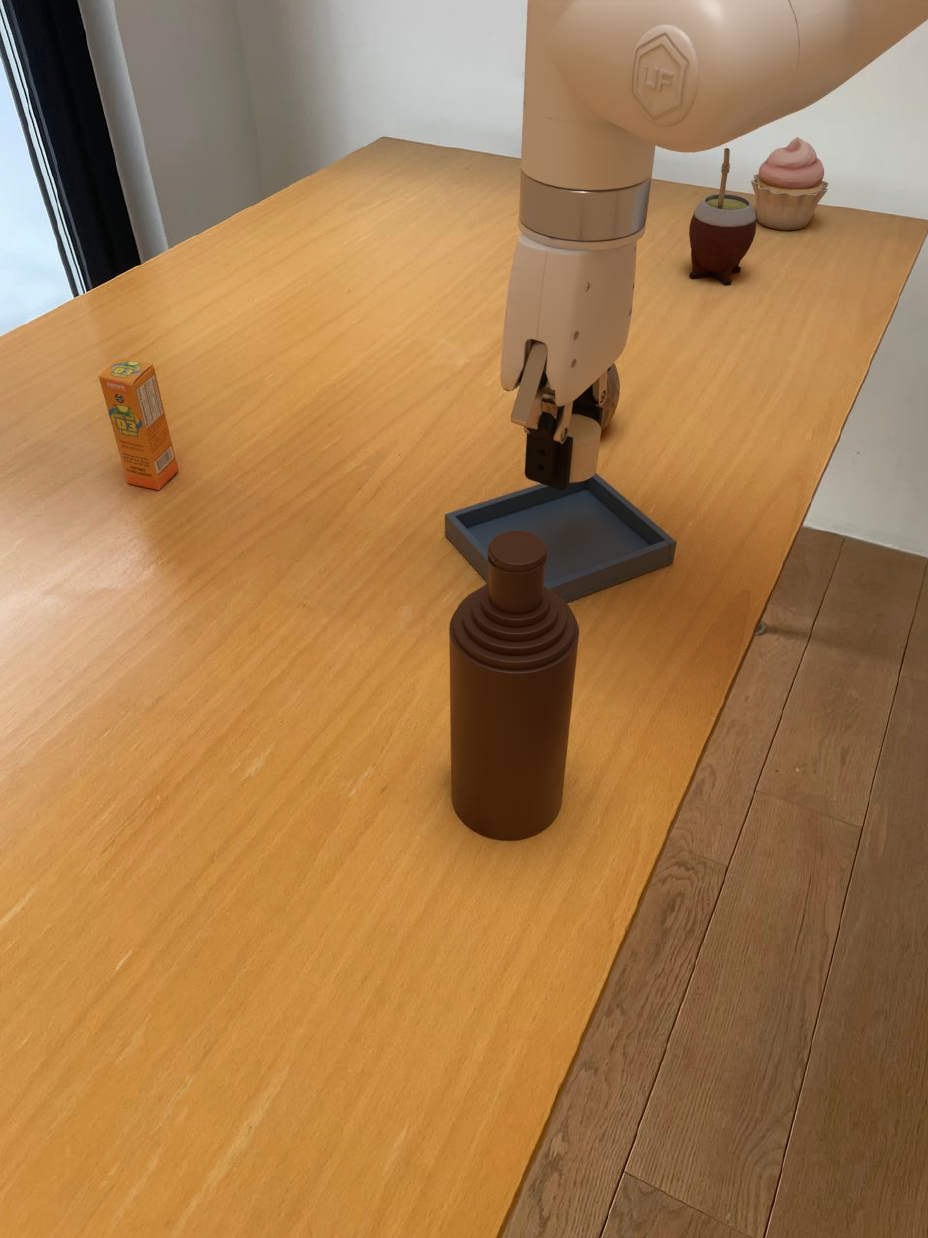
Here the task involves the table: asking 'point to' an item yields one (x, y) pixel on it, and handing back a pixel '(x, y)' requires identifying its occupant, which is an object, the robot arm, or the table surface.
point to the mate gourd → (721, 232)
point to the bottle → (511, 694)
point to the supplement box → (139, 423)
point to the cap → (584, 447)
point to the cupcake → (789, 186)
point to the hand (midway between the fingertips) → (561, 465)
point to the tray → (568, 535)
